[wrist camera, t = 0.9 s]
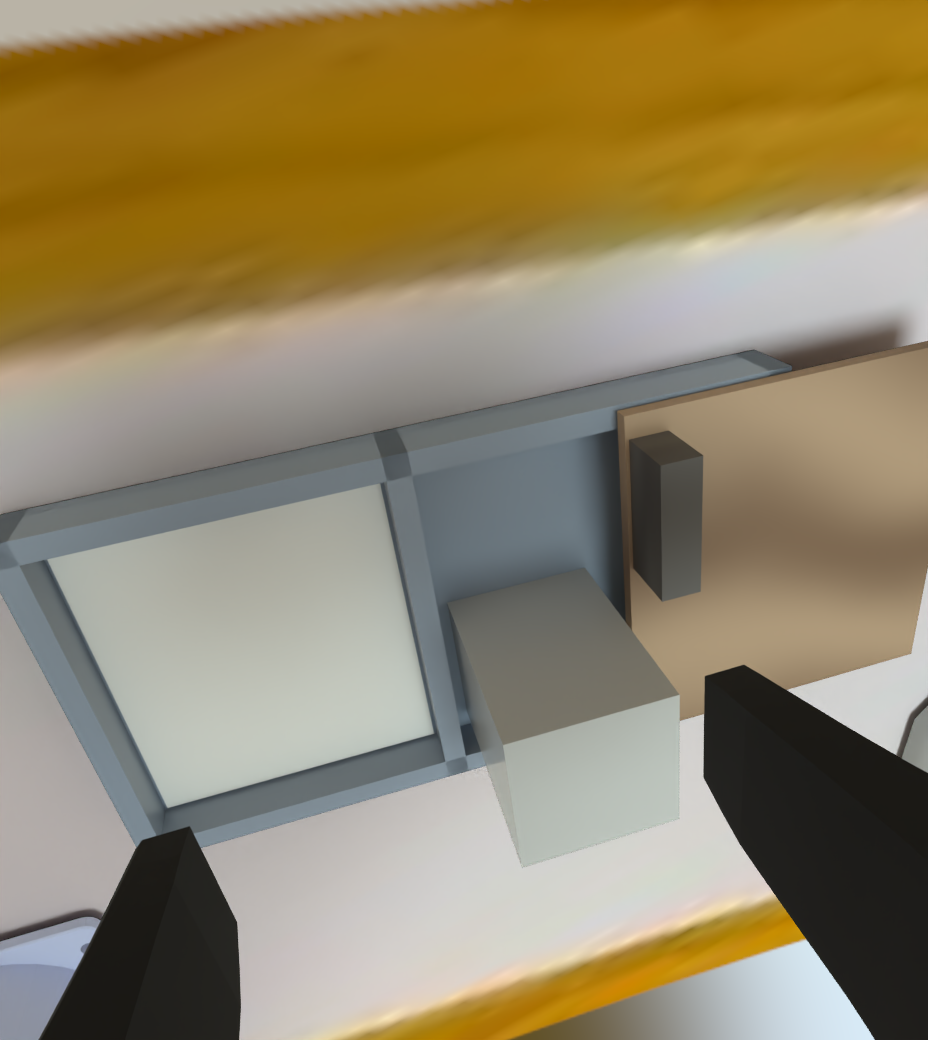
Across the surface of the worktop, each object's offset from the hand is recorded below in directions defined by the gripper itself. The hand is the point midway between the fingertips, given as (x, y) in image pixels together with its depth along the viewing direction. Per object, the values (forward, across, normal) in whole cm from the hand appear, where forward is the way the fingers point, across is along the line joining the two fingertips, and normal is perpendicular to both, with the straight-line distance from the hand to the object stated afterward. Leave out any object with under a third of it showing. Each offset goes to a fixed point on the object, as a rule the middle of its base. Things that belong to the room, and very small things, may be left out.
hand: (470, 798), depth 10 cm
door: (+8, -10, +4) cm, 14 cm away
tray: (+10, -1, +3) cm, 11 cm away
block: (+10, -3, +5) cm, 11 cm away
